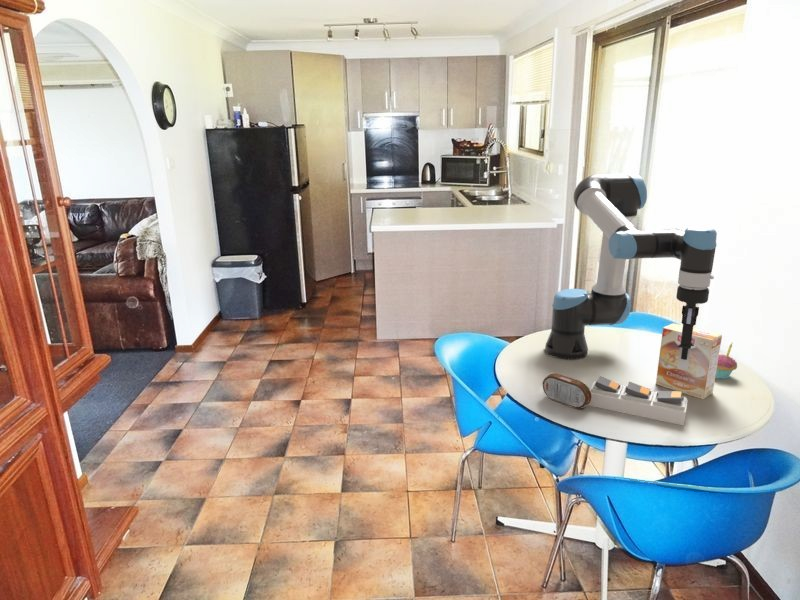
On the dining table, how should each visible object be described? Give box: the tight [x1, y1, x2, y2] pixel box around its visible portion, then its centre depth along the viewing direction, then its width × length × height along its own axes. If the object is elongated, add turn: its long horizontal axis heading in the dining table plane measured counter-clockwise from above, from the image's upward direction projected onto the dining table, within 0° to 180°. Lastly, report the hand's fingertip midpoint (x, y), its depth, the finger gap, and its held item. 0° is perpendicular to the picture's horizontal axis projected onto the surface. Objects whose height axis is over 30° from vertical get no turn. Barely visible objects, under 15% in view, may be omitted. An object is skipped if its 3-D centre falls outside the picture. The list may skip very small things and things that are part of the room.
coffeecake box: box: [655, 322, 723, 400], centre depth 172 cm, size 15×7×20 cm, turn 40°
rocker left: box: [595, 375, 620, 393], centre depth 165 cm, size 6×5×2 cm
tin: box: [542, 372, 591, 410], centre depth 165 cm, size 15×3×8 cm, turn 44°
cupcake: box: [715, 342, 738, 380], centre depth 181 cm, size 9×8×12 cm
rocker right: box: [657, 390, 683, 404], centre depth 157 cm, size 6×5×2 cm
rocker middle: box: [625, 381, 651, 399], centre depth 161 cm, size 6×5×2 cm
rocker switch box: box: [587, 379, 688, 426], centre depth 162 cm, size 28×9×5 cm, turn 61°
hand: (682, 368), depth 153 cm, fingers closed
